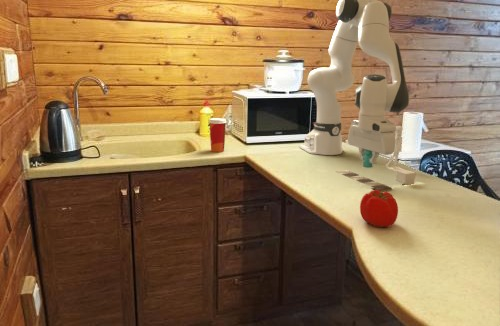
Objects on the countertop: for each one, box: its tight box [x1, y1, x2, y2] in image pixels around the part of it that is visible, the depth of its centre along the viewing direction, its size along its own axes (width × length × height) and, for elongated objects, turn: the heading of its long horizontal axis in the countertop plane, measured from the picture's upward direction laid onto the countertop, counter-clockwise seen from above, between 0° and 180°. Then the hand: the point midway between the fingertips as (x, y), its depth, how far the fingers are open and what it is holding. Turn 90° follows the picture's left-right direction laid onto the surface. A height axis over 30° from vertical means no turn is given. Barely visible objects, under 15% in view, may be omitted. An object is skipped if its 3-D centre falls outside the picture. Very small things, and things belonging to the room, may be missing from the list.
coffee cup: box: [208, 117, 227, 153], centre depth 190 cm, size 8×8×15 cm
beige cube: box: [395, 169, 416, 186], centre depth 146 cm, size 4×4×4 cm
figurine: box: [385, 125, 405, 172], centre depth 161 cm, size 8×8×18 cm
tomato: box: [359, 190, 399, 228], centre depth 109 cm, size 11×11×9 cm
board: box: [335, 169, 393, 192], centre depth 148 cm, size 24×6×1 cm, turn 25°
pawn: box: [362, 150, 374, 169], centre depth 144 cm, size 3×3×7 cm
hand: (368, 161), depth 145 cm, fingers closed on pawn, 3 cm apart
